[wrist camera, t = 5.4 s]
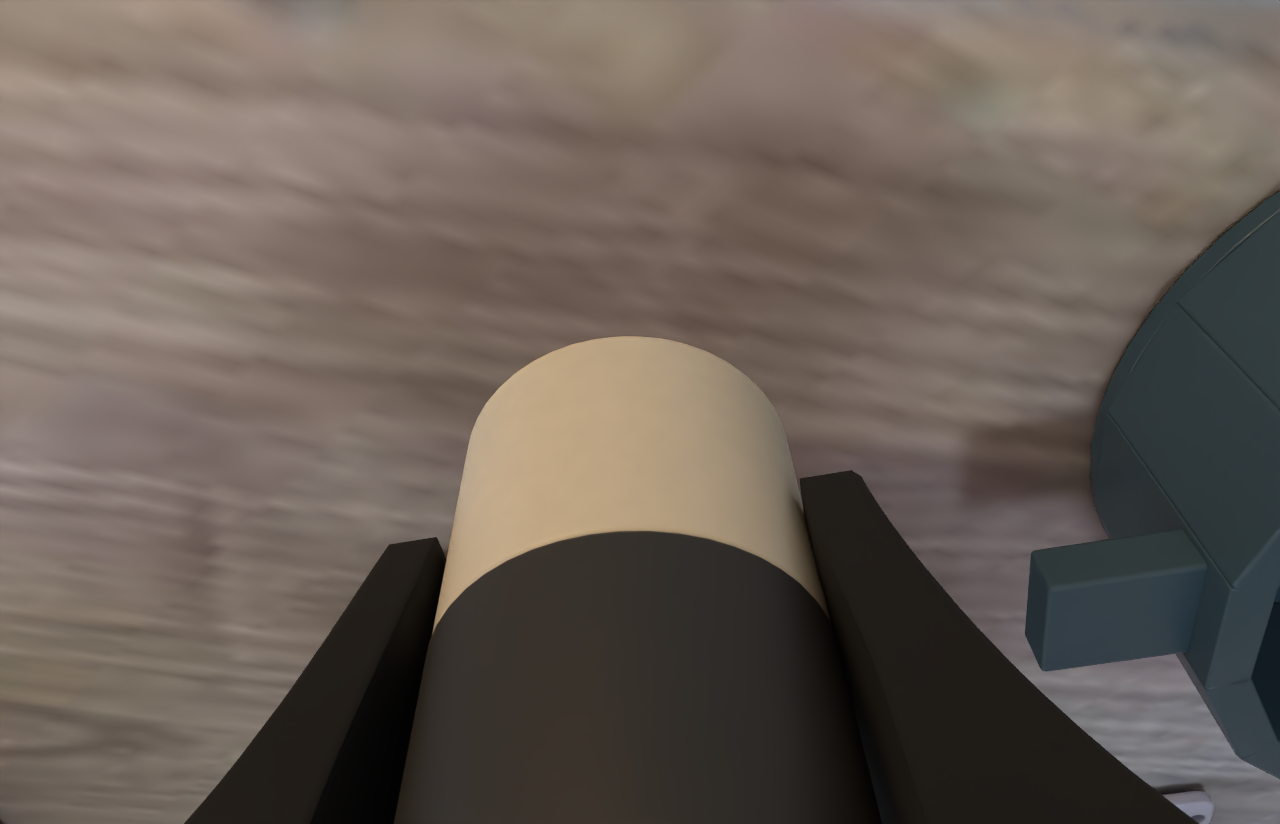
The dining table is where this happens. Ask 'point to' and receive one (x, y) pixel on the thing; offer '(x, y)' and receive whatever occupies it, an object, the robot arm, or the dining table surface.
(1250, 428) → the pot
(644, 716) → the cylinder
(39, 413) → the dining table surface
